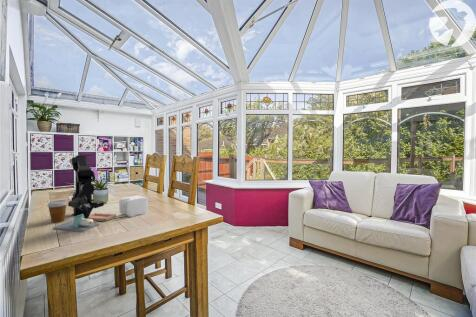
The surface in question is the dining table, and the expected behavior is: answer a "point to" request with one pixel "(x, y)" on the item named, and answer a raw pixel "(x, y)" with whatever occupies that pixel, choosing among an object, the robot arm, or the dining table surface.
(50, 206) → the disposable coffee cup
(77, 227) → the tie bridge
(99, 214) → the tray
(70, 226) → the board
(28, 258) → the dining table surface
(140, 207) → the cable organizer
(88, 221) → the white bottle
